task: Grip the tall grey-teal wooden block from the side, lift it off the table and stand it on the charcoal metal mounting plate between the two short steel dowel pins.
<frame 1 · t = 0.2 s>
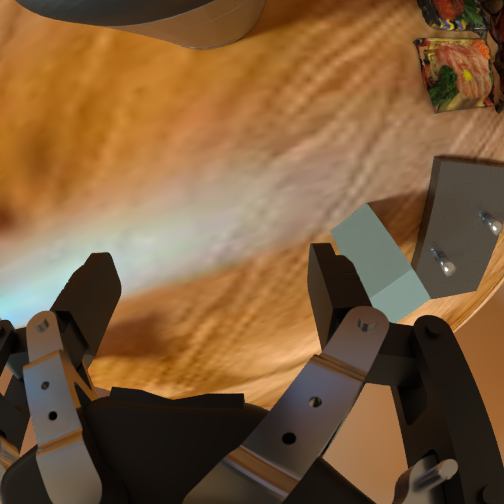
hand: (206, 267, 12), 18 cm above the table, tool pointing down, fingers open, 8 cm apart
mounting plate: (459, 232, 32), on the table
food: (482, 39, 18), on the table
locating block: (360, 231, 32), on the table
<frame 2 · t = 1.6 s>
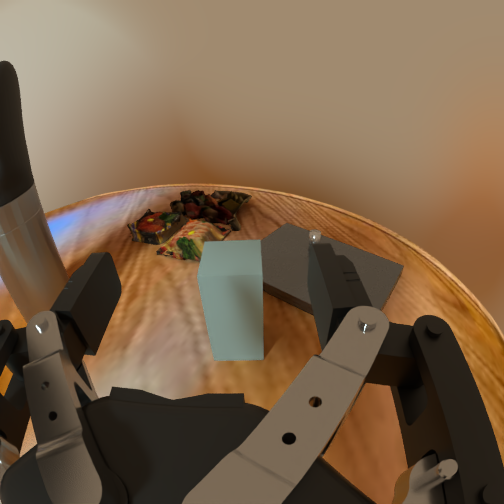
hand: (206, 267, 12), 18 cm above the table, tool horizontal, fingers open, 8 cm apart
mounting plate: (318, 274, 40), on the table
food: (194, 226, 54), on the table
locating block: (239, 341, 31), on the table
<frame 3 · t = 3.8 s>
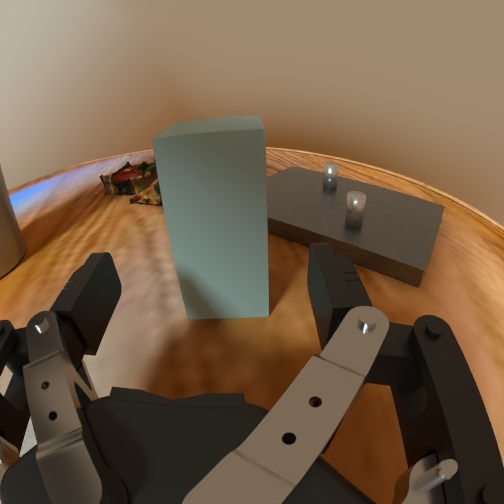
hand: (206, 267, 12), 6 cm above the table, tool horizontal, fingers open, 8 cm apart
mounting plate: (339, 215, 29), on the table
food: (180, 178, 43), on the table
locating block: (229, 292, 20), on the table
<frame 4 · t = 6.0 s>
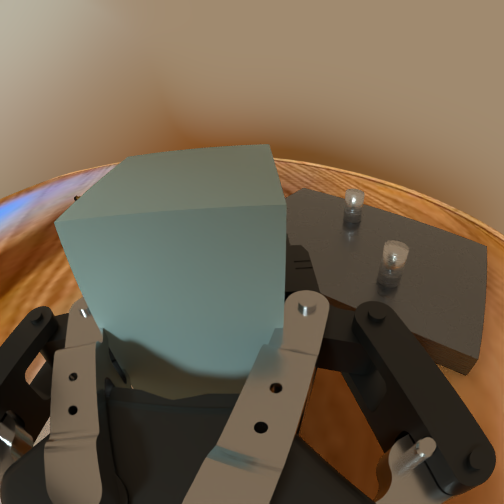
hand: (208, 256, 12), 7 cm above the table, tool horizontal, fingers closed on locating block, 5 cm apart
mounting plate: (365, 260, 23), on the table
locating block: (222, 395, 14), on the table, touching gripper
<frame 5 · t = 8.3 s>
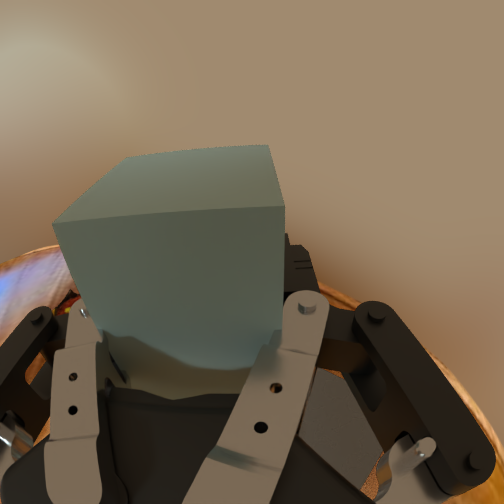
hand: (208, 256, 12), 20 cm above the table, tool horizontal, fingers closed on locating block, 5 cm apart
mounting plate: (275, 423, 24), on the table
food: (124, 314, 38), on the table
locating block: (222, 396, 14), point 13 cm above the table, touching gripper
when the fingers open (9 cm above the table, at t = 11.1 s): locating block drops 1 cm, resting on mounting plate.
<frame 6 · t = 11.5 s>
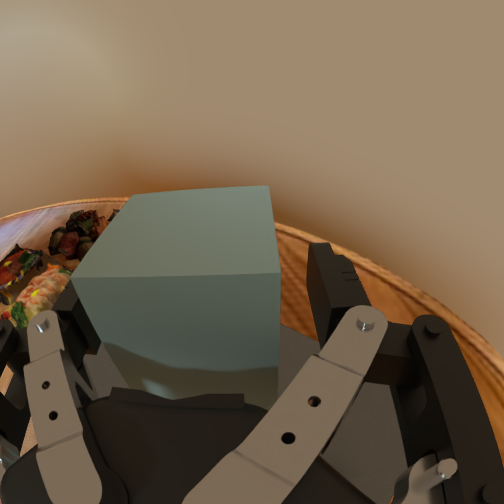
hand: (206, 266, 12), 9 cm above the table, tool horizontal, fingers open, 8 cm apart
mounting plate: (228, 419, 15), on the table
food: (68, 271, 29), on the table
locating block: (224, 410, 14), point 1 cm above the table, touching mounting plate
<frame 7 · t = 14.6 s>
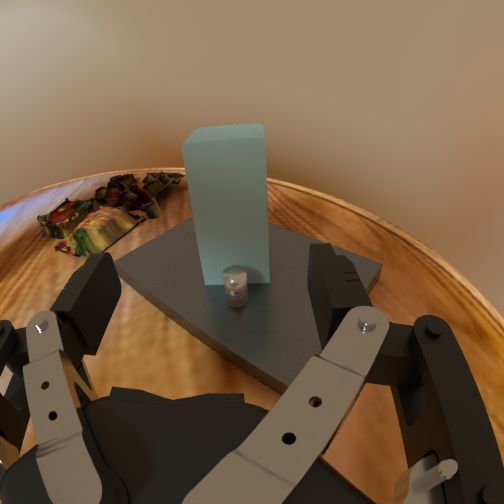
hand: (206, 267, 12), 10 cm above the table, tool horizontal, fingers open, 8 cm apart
mounting plate: (240, 278, 26), on the table
food: (112, 215, 41), on the table
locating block: (238, 264, 25), point 1 cm above the table, touching mounting plate
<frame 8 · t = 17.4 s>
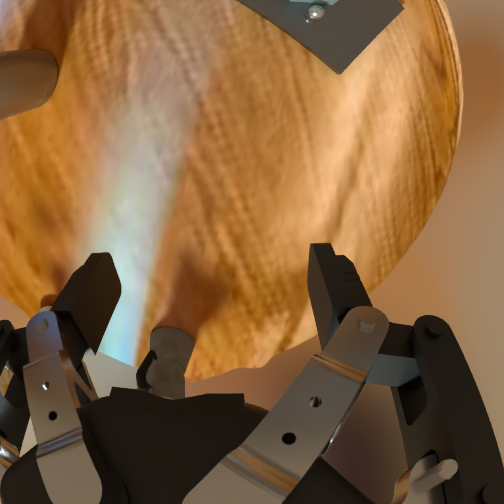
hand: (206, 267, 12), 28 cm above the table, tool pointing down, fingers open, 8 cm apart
coffeepot: (170, 337, 56), on the table
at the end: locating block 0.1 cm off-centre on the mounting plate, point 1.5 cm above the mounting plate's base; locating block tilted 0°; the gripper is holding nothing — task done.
